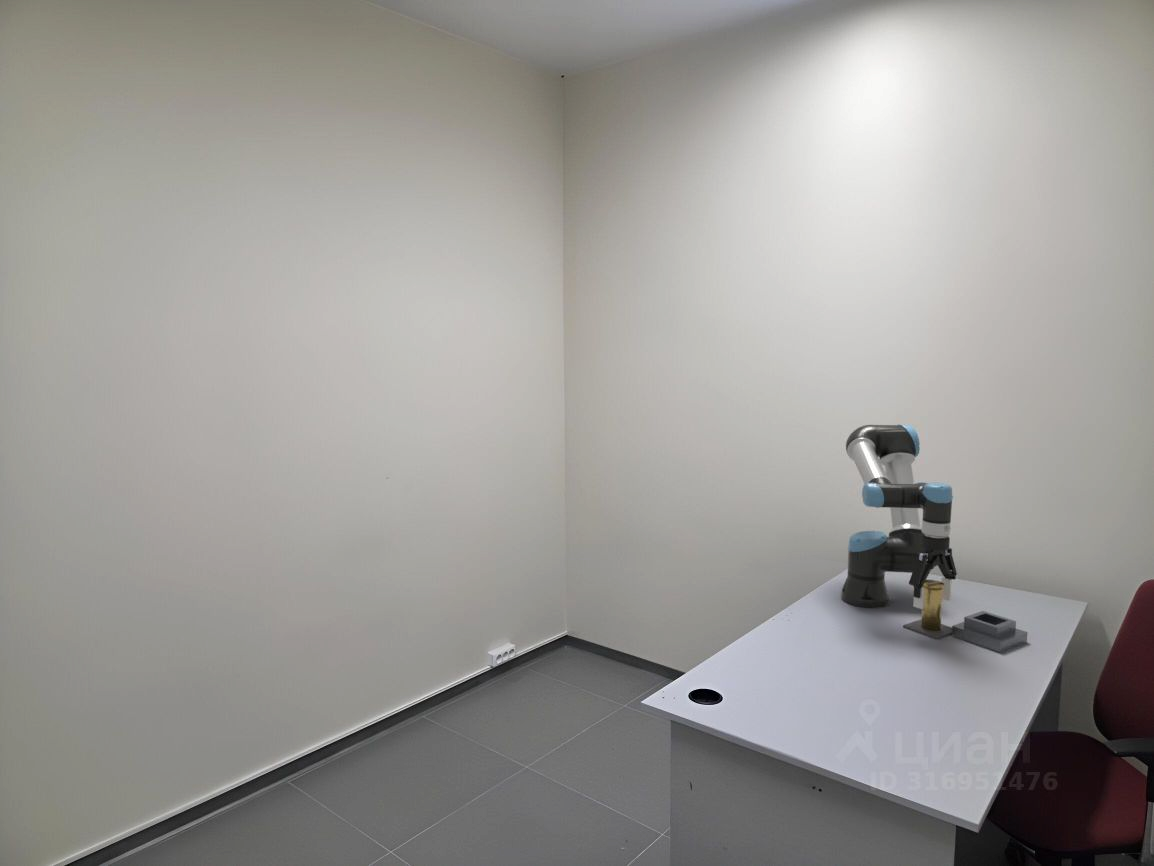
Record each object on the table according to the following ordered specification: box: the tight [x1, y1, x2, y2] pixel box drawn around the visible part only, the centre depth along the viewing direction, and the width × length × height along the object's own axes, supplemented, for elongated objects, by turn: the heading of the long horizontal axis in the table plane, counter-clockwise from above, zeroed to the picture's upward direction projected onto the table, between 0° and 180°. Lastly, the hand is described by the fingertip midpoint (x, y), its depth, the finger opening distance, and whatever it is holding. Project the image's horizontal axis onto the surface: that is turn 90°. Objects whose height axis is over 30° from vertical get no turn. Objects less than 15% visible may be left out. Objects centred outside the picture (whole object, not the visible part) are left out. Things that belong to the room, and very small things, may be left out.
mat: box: [902, 618, 952, 640], centre depth 210 cm, size 11×11×1 cm
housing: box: [951, 610, 1028, 654], centre depth 203 cm, size 14×14×6 cm
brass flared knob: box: [920, 579, 944, 631], centre depth 209 cm, size 6×6×14 cm
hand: (932, 603), depth 209 cm, fingers open, 13 cm apart
